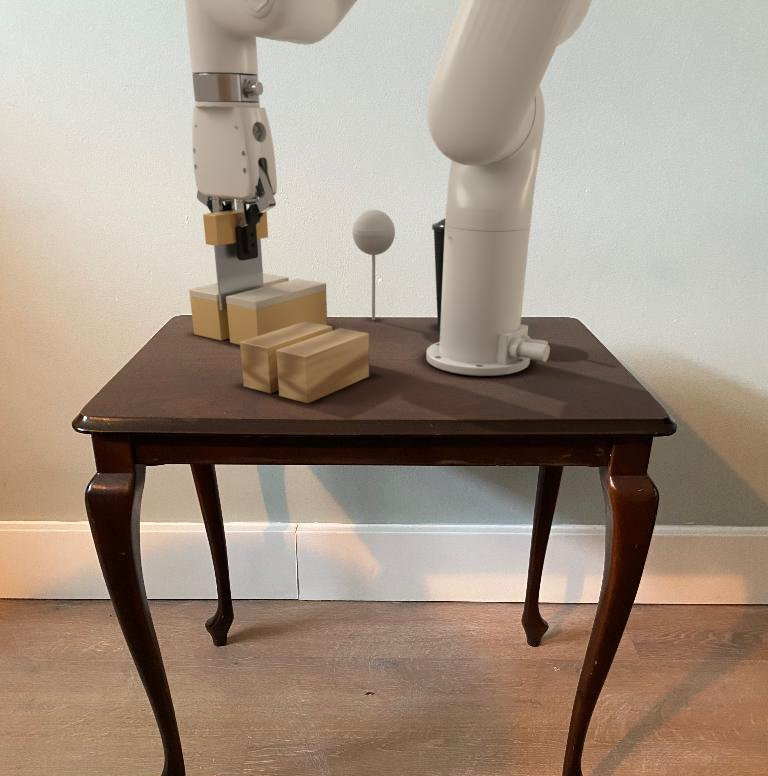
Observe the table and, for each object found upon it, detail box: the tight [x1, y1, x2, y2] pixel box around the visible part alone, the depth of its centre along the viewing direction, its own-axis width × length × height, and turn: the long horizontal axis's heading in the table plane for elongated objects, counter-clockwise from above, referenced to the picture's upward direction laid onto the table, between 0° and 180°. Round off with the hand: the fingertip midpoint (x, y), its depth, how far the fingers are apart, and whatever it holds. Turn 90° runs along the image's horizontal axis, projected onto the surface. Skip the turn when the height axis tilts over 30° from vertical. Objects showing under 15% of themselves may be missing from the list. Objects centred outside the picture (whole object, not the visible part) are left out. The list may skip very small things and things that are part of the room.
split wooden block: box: [239, 321, 370, 404], centre depth 81 cm, size 9×11×5 cm
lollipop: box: [352, 209, 396, 321], centre depth 103 cm, size 6×6×15 cm
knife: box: [202, 207, 269, 310], centre depth 94 cm, size 2×9×12 cm, turn 145°
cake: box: [188, 272, 328, 346], centre depth 100 cm, size 12×14×6 cm
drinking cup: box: [431, 217, 446, 330], centre depth 98 cm, size 8×8×20 cm
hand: (239, 256), depth 94 cm, fingers closed on knife, 2 cm apart
